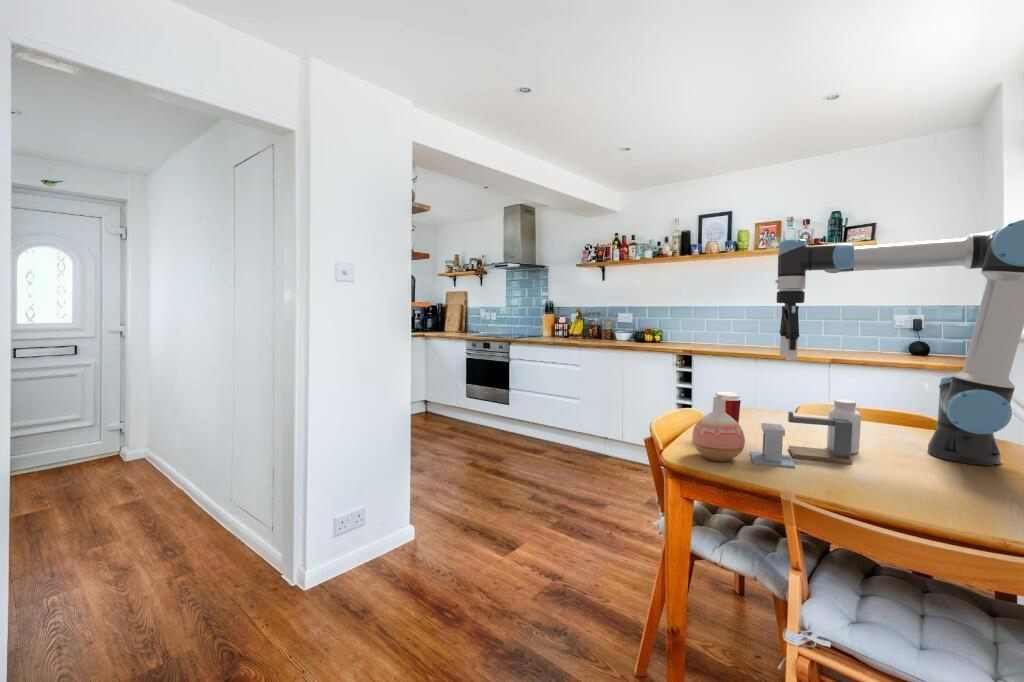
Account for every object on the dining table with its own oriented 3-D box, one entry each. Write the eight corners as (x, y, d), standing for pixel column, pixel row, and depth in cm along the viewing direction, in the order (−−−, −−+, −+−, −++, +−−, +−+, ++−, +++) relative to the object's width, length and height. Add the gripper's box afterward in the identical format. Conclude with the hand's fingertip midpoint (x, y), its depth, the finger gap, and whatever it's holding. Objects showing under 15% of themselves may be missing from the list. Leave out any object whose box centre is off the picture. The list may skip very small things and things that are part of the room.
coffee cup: (734, 436, 158) (736, 391, 156) (744, 443, 149) (746, 396, 148) (708, 435, 158) (710, 391, 157) (716, 442, 150) (718, 395, 149)
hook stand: (843, 454, 138) (845, 413, 137) (852, 464, 130) (854, 420, 129) (784, 449, 144) (786, 409, 143) (789, 457, 135) (791, 415, 135)
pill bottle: (830, 452, 141) (832, 402, 139) (824, 445, 148) (826, 397, 147) (862, 455, 138) (865, 404, 136) (854, 447, 145) (857, 399, 144)
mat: (789, 457, 136) (789, 455, 136) (795, 468, 127) (795, 466, 127) (750, 453, 140) (750, 451, 140) (753, 463, 130) (753, 461, 130)
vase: (683, 458, 134) (685, 397, 133) (702, 448, 144) (704, 391, 143) (734, 470, 125) (736, 404, 124) (750, 458, 135) (753, 396, 134)
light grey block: (779, 455, 135) (781, 424, 135) (783, 463, 129) (785, 430, 128) (760, 453, 137) (761, 422, 137) (762, 461, 131) (764, 428, 130)
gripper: (771, 291, 161) (769, 354, 162) (782, 289, 138) (779, 362, 139) (797, 291, 158) (794, 355, 159) (813, 288, 135) (809, 363, 136)
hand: (787, 358), depth 149 cm, fingers open, 13 cm apart
